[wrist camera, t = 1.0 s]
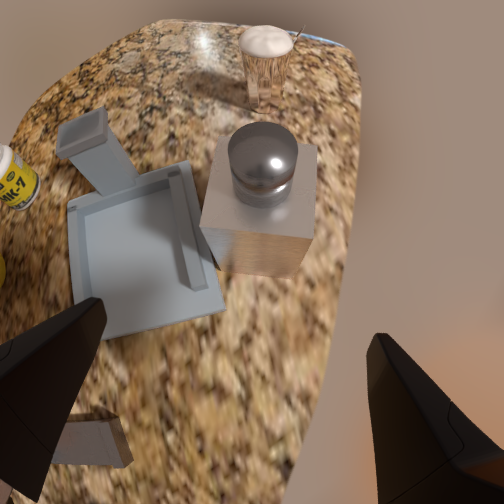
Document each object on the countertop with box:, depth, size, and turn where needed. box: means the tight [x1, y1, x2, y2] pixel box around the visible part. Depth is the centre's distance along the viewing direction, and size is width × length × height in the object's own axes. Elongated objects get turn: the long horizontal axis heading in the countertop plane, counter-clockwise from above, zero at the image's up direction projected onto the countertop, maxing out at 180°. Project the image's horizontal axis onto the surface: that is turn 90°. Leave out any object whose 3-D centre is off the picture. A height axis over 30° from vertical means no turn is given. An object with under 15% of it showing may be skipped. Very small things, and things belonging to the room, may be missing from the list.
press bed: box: [56, 106, 226, 341], centre depth 20 cm, size 13×12×10 cm
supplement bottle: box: [0, 143, 40, 211], centre depth 23 cm, size 5×5×8 cm
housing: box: [199, 122, 317, 280], centre depth 19 cm, size 6×6×12 cm
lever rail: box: [51, 417, 134, 468], centre depth 19 cm, size 4×16×2 cm, turn 106°
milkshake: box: [238, 25, 305, 114], centre depth 24 cm, size 4×5×10 cm
